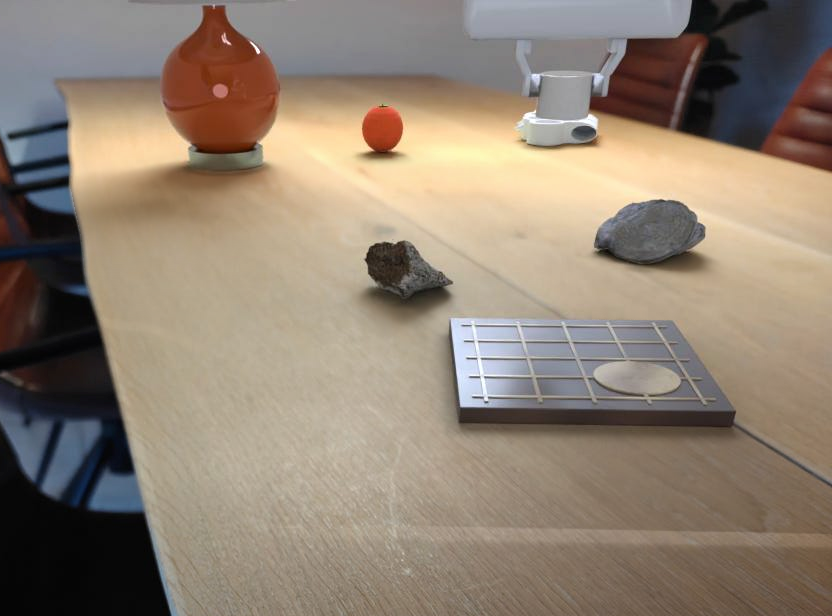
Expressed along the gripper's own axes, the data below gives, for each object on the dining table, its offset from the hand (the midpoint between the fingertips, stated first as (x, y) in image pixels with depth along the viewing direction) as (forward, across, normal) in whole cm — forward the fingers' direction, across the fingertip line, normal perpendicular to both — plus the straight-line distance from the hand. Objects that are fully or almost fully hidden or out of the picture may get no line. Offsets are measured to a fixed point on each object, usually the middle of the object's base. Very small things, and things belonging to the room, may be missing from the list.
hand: (564, 96), depth 86 cm
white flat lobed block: (+17, +11, +87) cm, 89 cm away
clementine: (+17, -20, +72) cm, 77 cm away
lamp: (+16, -44, +61) cm, 77 cm away
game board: (+16, 0, -27) cm, 32 cm away
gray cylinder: (+2, 0, 0) cm, 2 cm away
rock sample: (+17, -14, -5) cm, 23 cm away
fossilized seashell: (+17, +13, +10) cm, 24 cm away
